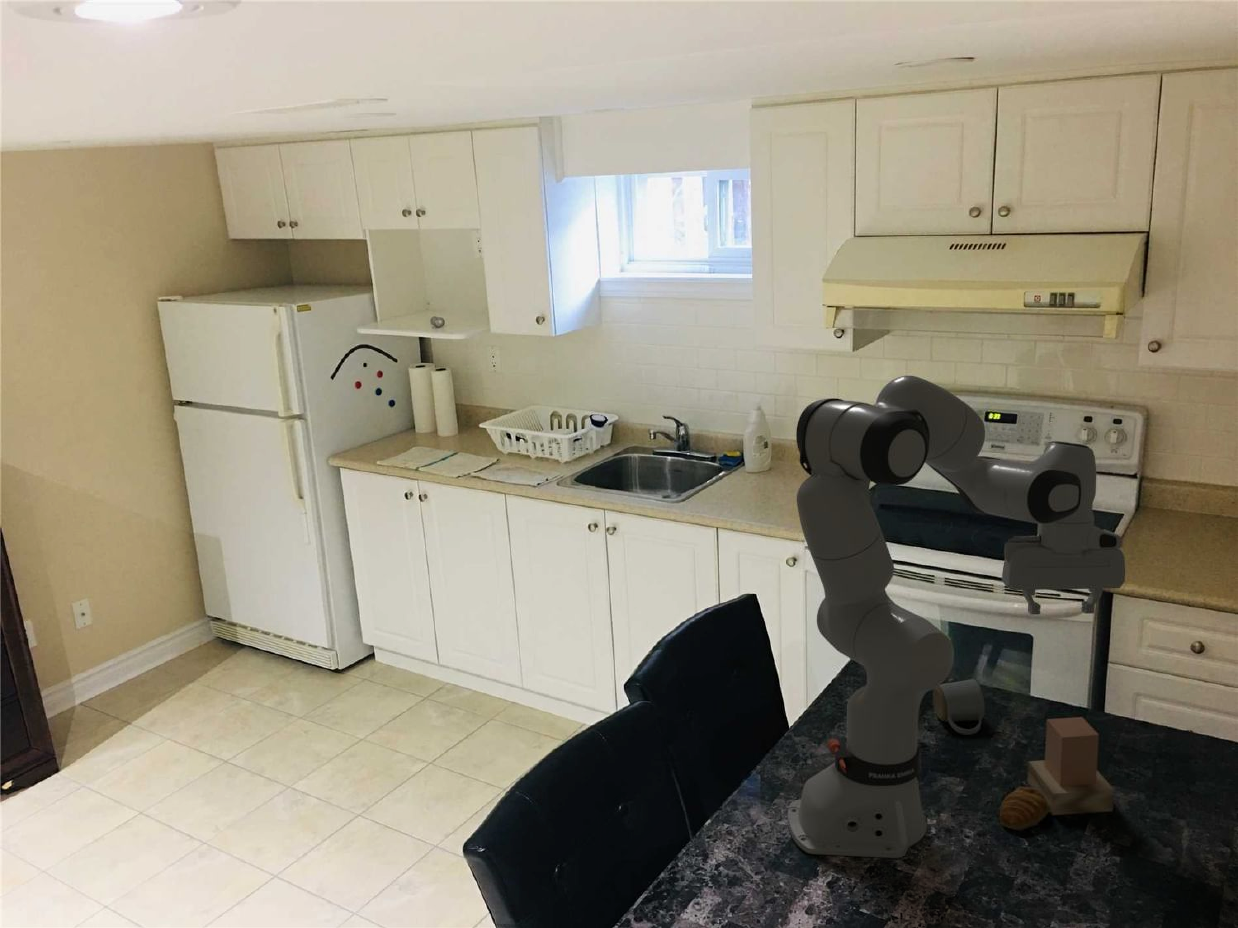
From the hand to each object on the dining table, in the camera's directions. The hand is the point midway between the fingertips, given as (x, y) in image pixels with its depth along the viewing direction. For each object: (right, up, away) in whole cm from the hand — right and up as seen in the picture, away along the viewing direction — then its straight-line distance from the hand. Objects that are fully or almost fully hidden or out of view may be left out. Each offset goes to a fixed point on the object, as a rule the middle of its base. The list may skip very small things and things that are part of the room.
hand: (1060, 613), depth 180 cm
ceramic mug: (-10, -25, +22) cm, 34 cm away
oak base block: (0, -30, -4) cm, 31 cm away
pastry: (-10, -33, -9) cm, 35 cm away
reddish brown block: (-1, -27, -5) cm, 27 cm away
